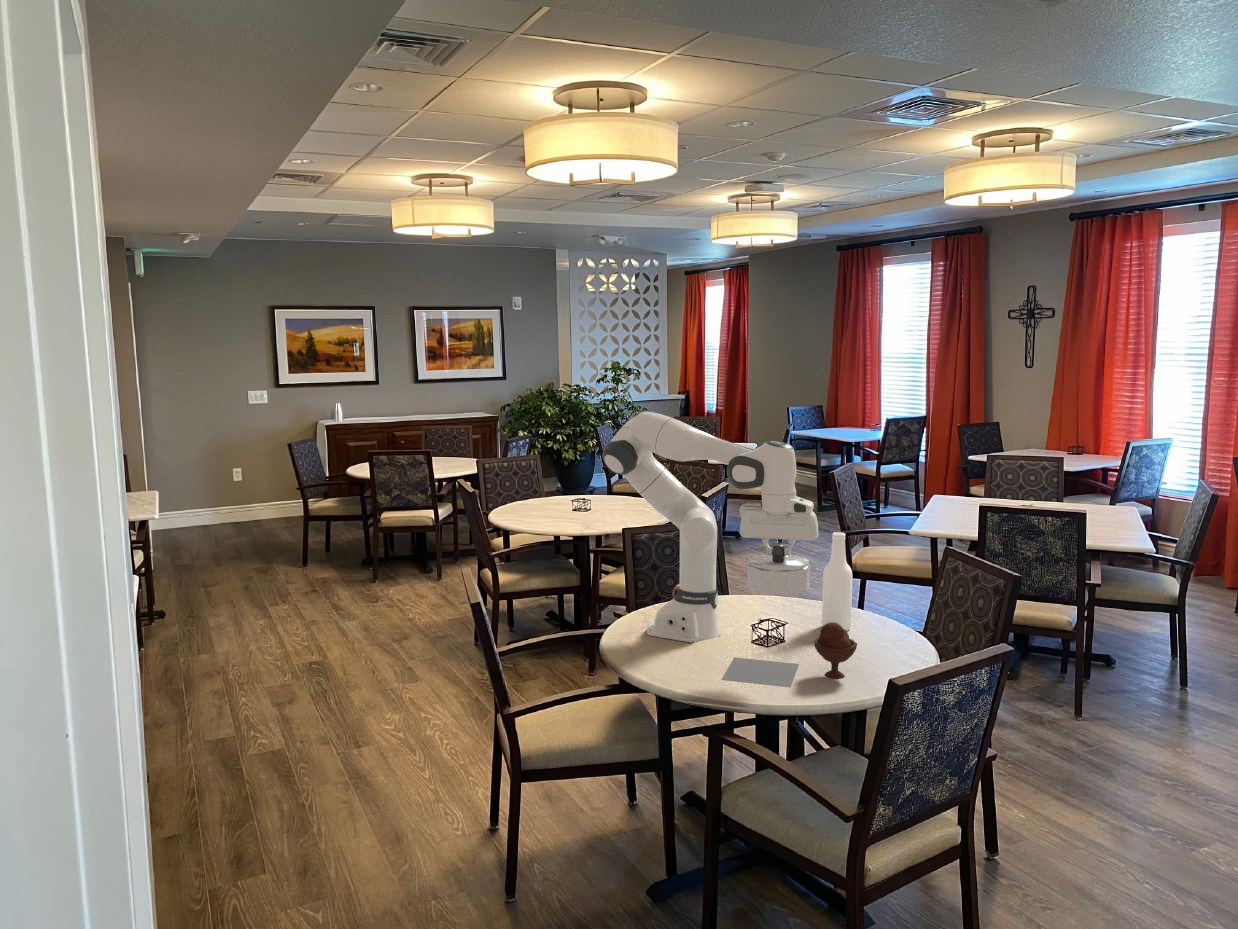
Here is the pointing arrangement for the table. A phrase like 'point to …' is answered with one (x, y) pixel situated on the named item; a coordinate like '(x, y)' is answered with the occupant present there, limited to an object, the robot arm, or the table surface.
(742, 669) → the mat
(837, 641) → the ice cream bowl
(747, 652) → the table surface
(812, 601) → the table surface
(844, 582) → the alcohol
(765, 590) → the cover
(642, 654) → the table surface
